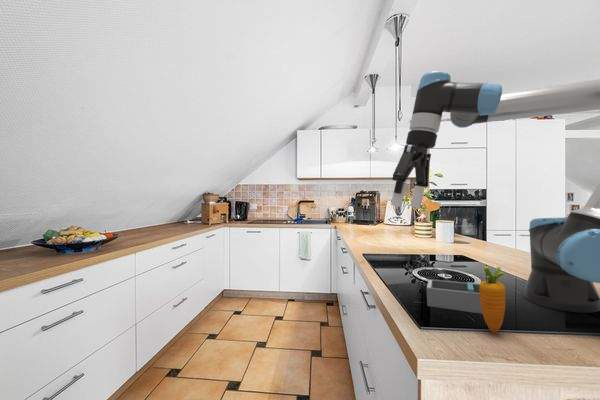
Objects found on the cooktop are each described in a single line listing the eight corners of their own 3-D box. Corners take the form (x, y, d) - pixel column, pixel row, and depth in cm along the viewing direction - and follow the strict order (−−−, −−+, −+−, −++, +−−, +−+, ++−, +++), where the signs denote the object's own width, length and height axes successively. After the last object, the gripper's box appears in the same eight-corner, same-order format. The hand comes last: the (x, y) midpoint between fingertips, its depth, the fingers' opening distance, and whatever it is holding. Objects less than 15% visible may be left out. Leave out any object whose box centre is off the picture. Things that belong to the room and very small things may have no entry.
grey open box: (497, 303, 75) (496, 285, 75) (502, 316, 67) (502, 296, 67) (429, 295, 83) (428, 279, 83) (427, 306, 75) (426, 288, 75)
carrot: (502, 329, 61) (499, 263, 61) (512, 340, 56) (509, 268, 56) (477, 327, 62) (474, 262, 62) (485, 338, 58) (482, 268, 57)
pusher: (472, 298, 76) (472, 282, 76) (474, 306, 71) (473, 289, 71) (467, 297, 77) (467, 282, 77) (469, 305, 72) (468, 288, 72)
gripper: (424, 140, 86) (409, 205, 89) (390, 120, 68) (373, 202, 70) (449, 142, 81) (433, 210, 84) (420, 120, 63) (401, 208, 65)
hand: (405, 206), depth 77 cm, fingers open, 13 cm apart
